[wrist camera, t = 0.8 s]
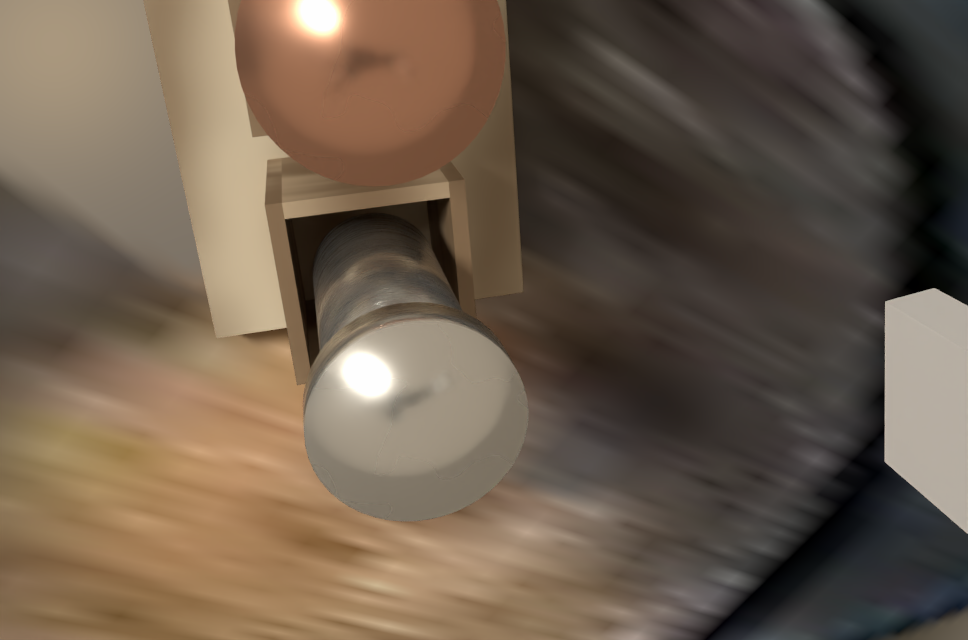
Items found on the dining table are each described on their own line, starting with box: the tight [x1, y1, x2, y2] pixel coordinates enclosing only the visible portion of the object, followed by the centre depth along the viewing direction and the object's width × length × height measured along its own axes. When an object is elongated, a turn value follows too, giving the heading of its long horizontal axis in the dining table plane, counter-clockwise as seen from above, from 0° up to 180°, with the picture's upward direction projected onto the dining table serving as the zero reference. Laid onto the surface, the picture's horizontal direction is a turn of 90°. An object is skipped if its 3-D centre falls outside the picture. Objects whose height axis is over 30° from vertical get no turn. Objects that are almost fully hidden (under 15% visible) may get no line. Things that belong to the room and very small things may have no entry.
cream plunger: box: [303, 213, 528, 521], centre depth 24 cm, size 5×5×10 cm
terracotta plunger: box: [235, 0, 506, 187], centre depth 21 cm, size 5×5×10 cm
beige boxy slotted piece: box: [143, 0, 523, 385], centre depth 28 cm, size 12×23×8 cm, turn 4°
